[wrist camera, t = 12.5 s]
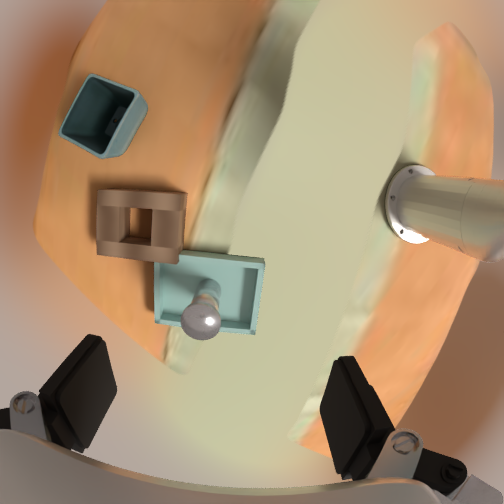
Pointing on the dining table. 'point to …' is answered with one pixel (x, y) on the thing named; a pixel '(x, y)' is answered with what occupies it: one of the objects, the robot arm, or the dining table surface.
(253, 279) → the tray
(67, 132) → the flower pot
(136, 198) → the socket block
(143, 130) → the dining table surface
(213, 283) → the pin
